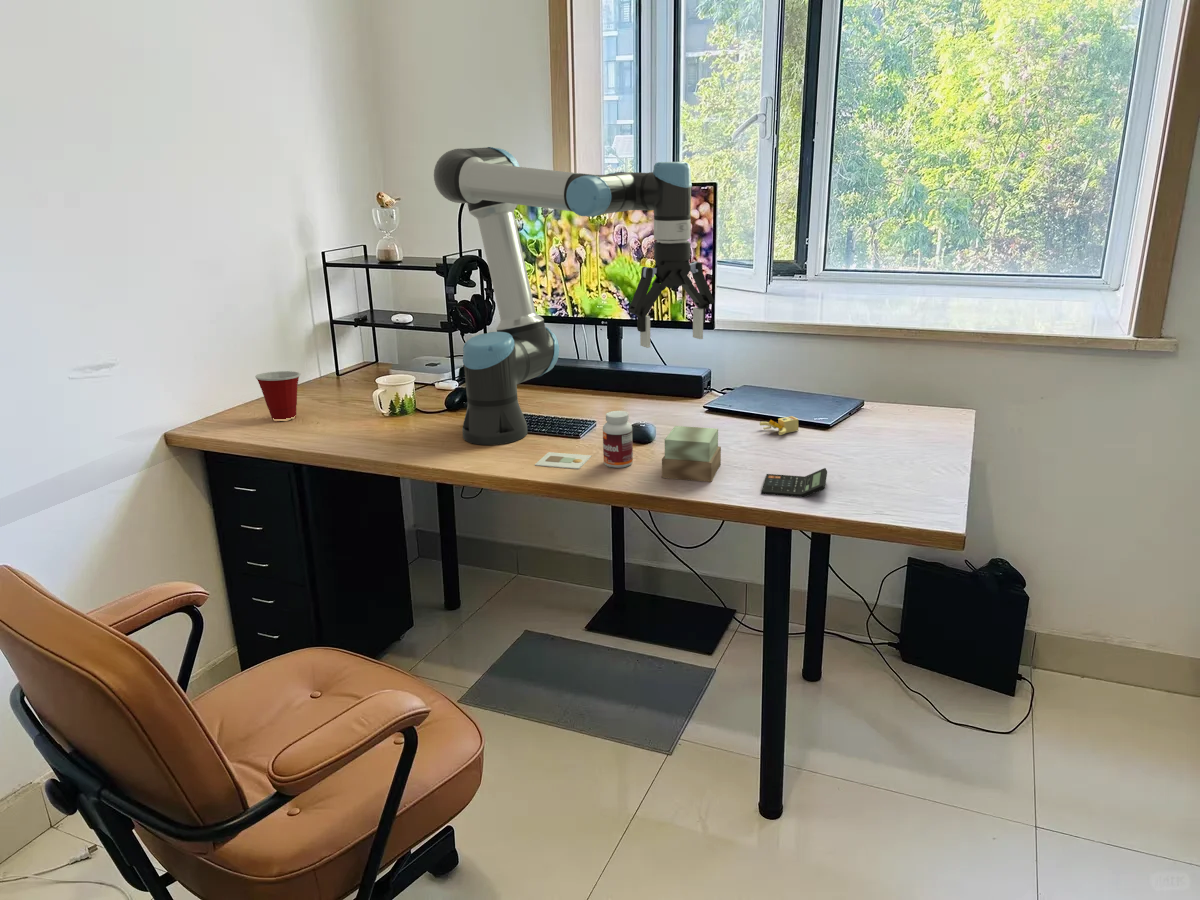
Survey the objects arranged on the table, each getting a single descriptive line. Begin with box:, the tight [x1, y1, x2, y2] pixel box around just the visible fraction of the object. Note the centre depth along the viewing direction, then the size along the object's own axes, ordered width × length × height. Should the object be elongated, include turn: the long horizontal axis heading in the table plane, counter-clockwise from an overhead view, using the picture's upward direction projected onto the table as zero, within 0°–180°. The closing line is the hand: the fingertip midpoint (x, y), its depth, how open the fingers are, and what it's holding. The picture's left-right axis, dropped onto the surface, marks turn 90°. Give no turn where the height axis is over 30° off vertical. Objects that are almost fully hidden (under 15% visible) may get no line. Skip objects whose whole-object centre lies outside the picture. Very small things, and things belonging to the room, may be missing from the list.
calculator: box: [760, 467, 828, 498], centre depth 164 cm, size 9×12×3 cm
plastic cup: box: [255, 370, 301, 419], centre depth 218 cm, size 11×11×12 cm
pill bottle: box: [602, 410, 634, 469], centre depth 178 cm, size 6×6×11 cm
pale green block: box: [661, 425, 722, 483], centre depth 173 cm, size 10×10×8 cm
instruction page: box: [534, 451, 592, 470], centre depth 183 cm, size 10×8×1 cm
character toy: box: [759, 415, 799, 436], centre depth 195 cm, size 8×3×8 cm
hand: (672, 342), depth 183 cm, fingers open, 13 cm apart
